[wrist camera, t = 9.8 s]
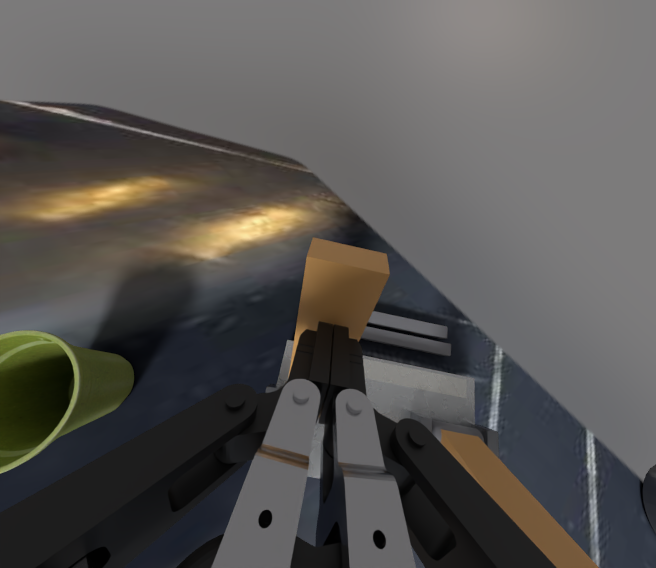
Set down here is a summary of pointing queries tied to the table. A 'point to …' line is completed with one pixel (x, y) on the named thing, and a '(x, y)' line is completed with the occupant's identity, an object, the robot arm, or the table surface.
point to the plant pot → (52, 391)
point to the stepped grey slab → (407, 340)
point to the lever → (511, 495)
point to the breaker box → (405, 398)
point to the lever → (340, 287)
